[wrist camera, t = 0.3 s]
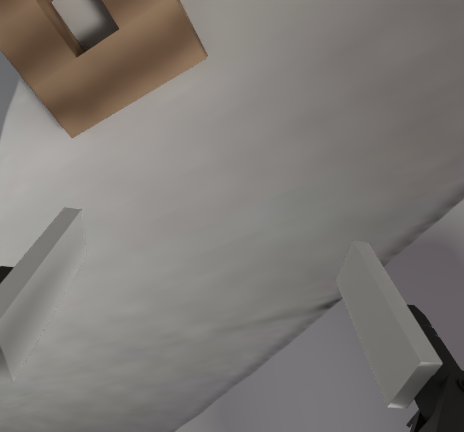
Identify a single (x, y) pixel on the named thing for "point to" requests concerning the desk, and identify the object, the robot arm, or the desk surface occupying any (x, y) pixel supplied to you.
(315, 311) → the desk surface
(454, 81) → the desk surface
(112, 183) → the desk surface
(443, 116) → the desk surface
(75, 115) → the socket block
